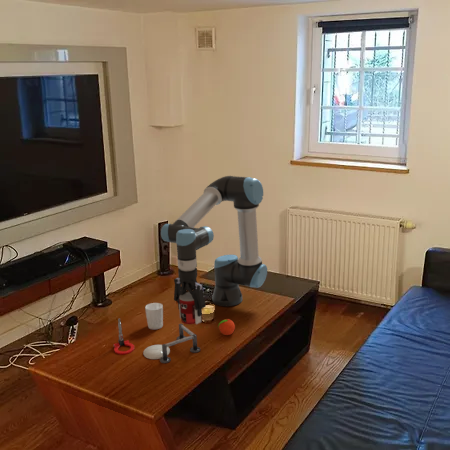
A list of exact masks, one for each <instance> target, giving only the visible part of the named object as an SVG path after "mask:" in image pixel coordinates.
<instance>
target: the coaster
mask: <svg viewBox="0 0 450 450" xmlns="http://www.w3.org/2000/svg"><path fill="white" fill-rule="evenodd" d="M162 345H163V344H154V345H150V346H147V347H146V348H145V349H144V350H143V352H142V353H143V356H144V357H145V358H146V359H148V360H160V359H161V358H162V357H163V352H162ZM170 349H171V348H170V346H169V347H167V356H169V354H171V350H170Z"/></svg>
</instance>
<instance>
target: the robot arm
mask: <svg viewBox="0 0 450 450" xmlns="http://www.w3.org/2000/svg"><path fill="white" fill-rule="evenodd" d="M263 197H264V187H263V184H262V183H261V181H260V180H259V179H258V178H253V177H249V176H235V175H225V176H222V177H220V178H218V179H216V180H214V181H212V182H211V183H210V184H209V185H207V186H206V187H205V188H204V190H203V193H202V194H201V195H200V196H199V197H198V198H197V199H196V200H195V201H194V202H193V203H192V204H191V205H190V206H189V207H188V208H187V209H186V210H185V211H184V212H183V213H182V214H181V215H179V217H178V218H177V219H176V220H175V221H174V222H173V223H165V224H164V225H162V227H161V229H160V236H161V239H162V240H163V241H164V242H168V243H172V244H173V243H174V244H176V252H177V253H176V254H177V268H178V270H177V273H178V277H176V278H175V279H174V280H173V282H174V293H173V301H174V302H175V301H176V302H177V307H178V311H179V312H180V301H179V296H180V295H184V294H185V293H187V291H188V292H190V294H191V295H192V298H193V299H194V303H195V306H196V309H195V325H198V324H201V323H202V315H203V309H204V308H206V299H205V295H204V284H203V283H199V282H198V281H197V278H198V268H197V267H198V264H197V263H198V262H197V261H198V259H197V250H199V249H201V248H204V247H207V246H208V245H209V244H210V243H212V242H213V240H214V237H215V235H214V232H213V231H214V230H212V228H211V227H209V226H206V225H203V226H200V227H196V226H197V225H198V224H199V223H200V222H201V220H202V219H203V218H205V216H206V215H207V214H208V213H209V212H210V211H211V210H212V209H214V207H215V206H218V205H220V204H221V203H222V202H227V201H228V202H232V203H233V209H235V210H236V211H237V223H238V224H237V225H238V235H239V236H238V237H239V238H238V240H239V251H240V256H239V257H238V255H236V254H224V255H220V256H218V257H216V258H215V259H214V264H213V267H214V269H213V270H214V286H215V287H214V289H213V294H212V296H211V297H212V299H211V300H212V302H213V304H214V303H215V304H214V305H217V306H220V307H234V306H237V305H239V304H241V303H242V301H243V294H242V291H241V288H240V285H241V286H245V287H250V288H255V289H257V288H260V287H261V286H263V284H264V283H265V281H266V278H267V276H268V267H267V264H264V263H263V259H262V258H263V257H261V256H259V243H258V224H257V223H258V221H257V209H258V207H259V206H260V204H261V203H262V201H263V199H264V198H263ZM179 319H180V320H181V315H180V314H179Z"/></svg>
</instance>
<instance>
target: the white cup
mask: <svg viewBox="0 0 450 450" xmlns="http://www.w3.org/2000/svg"><path fill="white" fill-rule="evenodd" d="M163 307H164V306H163V303H160V302H153V303H152V302H151V303H148V304H146V305H145V308H144V309H145V316H146V322H147V328H148V329H150V330H158V329H159V330H160V329H162V328H163V326H164V321H163V320H164V308H163Z"/></svg>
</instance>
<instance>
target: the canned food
mask: <svg viewBox="0 0 450 450" xmlns="http://www.w3.org/2000/svg"><path fill="white" fill-rule="evenodd" d="M179 301H180V311H179V316H180V315H181V319H180V321H181V324H183V325H196V323H195V309H196V306H195V303H194V299H193V298H192V295H191V294H190V292H189V291H188V292H187V291H186V293H185V294H184V295H180V296H179Z"/></svg>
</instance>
